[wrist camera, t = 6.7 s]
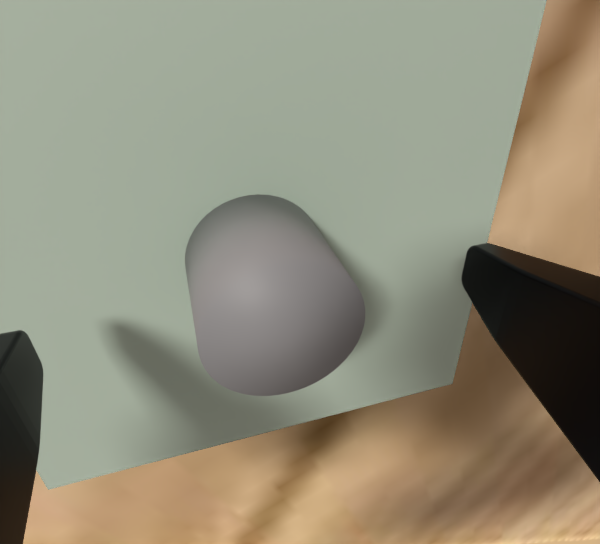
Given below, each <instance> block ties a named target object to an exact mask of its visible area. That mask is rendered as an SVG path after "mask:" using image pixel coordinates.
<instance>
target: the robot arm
mask: <svg viewBox="0 0 600 544" xmlns="http://www.w3.org/2000/svg"><path fill="white" fill-rule="evenodd" d="M461 280H462V285H463V287H464V289H465V291H466V293H467V294H468V296H469V298H470V299H471V301H472V303H473V304H474V306H475V308H476V310H477V311H478V313H479V315H480V316H481V318H482V320H483V321H484V323H485V325H486V326H487V328H488V330H489V332H490V333H491V335H492V336H493V338H494V340H495V341H496V342H497V344H498V345H499V347H500V348H501V350H502V351H503V352H504V354H505V355H506V356H507V358H508V359H509V360H510V362H511V363H512V364H513V366H514V367H515V368H516V370H517V371H518V372H519V374H520V375H521V377H522V378H523V379H524V381H525V382H526V383H527V385H528V386H529V387H530V389H531V390H532V391H533V393H534V394H535V395H536V397H537V398H538V399H539V401H540V402H541V403H542V405H543V406H544V408H545V409H546V410H547V412H548V413H549V414H550V416H551V417H552V418H553V420H554V421H555V422H556V424H557V425H558V426H559V428H560V429H561V430H562V432H563V433H564V435H565V436H566V437H567V439H568V440H569V441H570V443H571V444H572V445H573V447H574V448H575V449H576V451H577V452H578V453H579V455H580V456H581V457H582V459H583V460H584V462H585V463H586V464H587V466H588V467H589V468H590V470H591V471H592V472H593V474H594V475H595V476H596V478H597V479H598V480H599V482H600V277H599V276H595V275H592V274H589V273H586V272H582V271H579V270H576V269H572V268H569V267H566V266H562V265H559V264H556V263H553V262H549V261H546V260H543V259H539V258H536V257H533V256H529V255H526V254H523V253H520V252H516V251H513V250H510V249H506V248H503V247H500V246H496V245H493V244H490V243H483V244H478V245H473V246H471V247H469V249H468V250H467V253H466V258H465V262H464V267H463V271H462V276H461ZM42 395H43V367H42V363H41V361H40V359H39V357H38V354H37V352H36V350H35V348H34V346H33V344H32V342H31V340H30V338H29V336H28V334H27V333H26V332H25V331H22V330H17V331H12V332H6V333H1V334H0V544H23V539H24V534H25V529H26V523H27V518H28V512H29V507H30V501H31V496H32V490H33V485H34V479H35V474H36V468H37V462H38V456H39V448H40V434H41V414H42Z"/></svg>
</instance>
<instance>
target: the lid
mask: <svg viewBox="0 0 600 544" xmlns="http://www.w3.org/2000/svg"><path fill="white" fill-rule="evenodd" d="M546 1H547V0H0V334H1V333H6V332H12V331H17V330H22V331H25V332H26V333H27V334H28V336H29V338H30V340H31V342H32V344H33V346H34V348H35V350H36V352H37V354H38V357H39V359H40V361H41V363H42V367H43V395H42V414H41V434H40V448H39V456H38V462H37V468H36V470H37V472H38V473H39V475H40V477H41V478H42V480H43V482H44V483H45V485H46V487H47V488H48V490H49V489H53V488H56V487H60V486H64V485H68V484H72V483H75V482H79V481H83V480H87V479H91V478H95V477H98V476H102V475H106V474H110V473H114V472H118V471H121V470H125V469H129V468H133V467H137V466H140V465H144V464H148V463H152V462H156V461H160V460H163V459H167V458H171V457H175V456H179V455H182V454H186V453H190V452H194V451H198V450H202V449H205V448H209V447H213V446H217V445H221V444H224V443H228V442H232V441H236V440H240V439H244V438H247V437H251V436H255V435H259V434H263V433H266V432H270V431H274V430H278V429H282V428H286V427H289V426H293V425H297V424H301V423H305V422H308V421H312V420H316V419H320V418H324V417H328V416H331V415H335V414H339V413H343V412H347V411H351V410H354V409H358V408H362V407H366V406H370V405H373V404H377V403H381V402H385V401H389V400H393V399H396V398H400V397H404V396H408V395H412V394H415V393H419V392H423V391H427V390H431V389H435V388H438V387H442V386H446V385H450V384H452V383H453V379H454V375H455V371H456V367H457V363H458V359H459V355H460V351H461V347H462V343H463V338H464V334H465V330H466V326H467V322H468V318H469V314H470V310H471V306H472V301H471V299H470V298H469V296H468V294H467V293H466V291H465V289H464V287H463V285H462V280H461V276H462V271H463V267H464V262H465V258H466V253H467V250H468V249H469V247H471V246H473V245H478V244H483V243H487V241H488V237H489V233H490V229H491V225H492V220H493V216H494V212H495V208H496V204H497V200H498V196H499V192H500V188H501V184H502V180H503V176H504V172H505V168H506V164H507V159H508V155H509V151H510V147H511V143H512V139H513V135H514V131H515V127H516V123H517V119H518V115H519V111H520V107H521V102H522V98H523V94H524V90H525V86H526V82H527V78H528V74H529V70H530V66H531V62H532V58H533V54H534V50H535V45H536V41H537V37H538V33H539V29H540V25H541V21H542V17H543V13H544V9H545V5H546Z"/></svg>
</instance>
